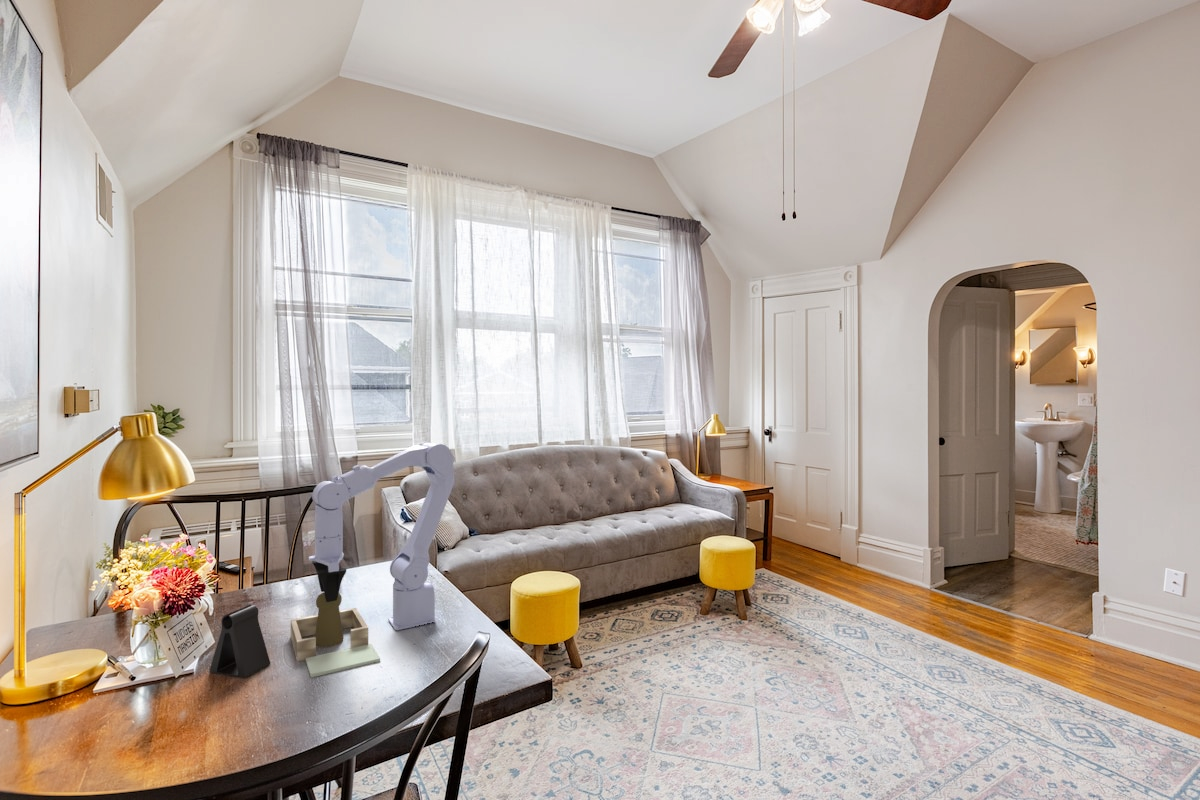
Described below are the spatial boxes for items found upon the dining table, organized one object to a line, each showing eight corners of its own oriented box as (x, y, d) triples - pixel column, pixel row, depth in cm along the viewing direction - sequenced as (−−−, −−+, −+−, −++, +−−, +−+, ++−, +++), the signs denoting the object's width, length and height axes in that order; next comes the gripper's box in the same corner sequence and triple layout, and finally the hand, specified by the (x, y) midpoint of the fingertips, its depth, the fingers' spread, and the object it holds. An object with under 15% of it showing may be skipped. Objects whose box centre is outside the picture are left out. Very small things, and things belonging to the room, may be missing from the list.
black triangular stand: (270, 665, 119) (270, 606, 119) (245, 678, 113) (245, 617, 113) (235, 659, 121) (235, 602, 121) (209, 673, 115) (209, 613, 115)
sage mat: (371, 646, 128) (371, 643, 128) (380, 661, 121) (380, 658, 121) (305, 660, 121) (305, 658, 121) (310, 677, 114) (310, 674, 114)
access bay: (356, 624, 140) (356, 607, 140) (368, 645, 128) (368, 627, 128) (290, 637, 132) (290, 620, 132) (297, 661, 120) (297, 642, 120)
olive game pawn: (332, 648, 127) (332, 598, 126) (307, 646, 128) (307, 596, 128) (349, 637, 132) (349, 589, 132) (325, 634, 134) (325, 587, 134)
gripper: (305, 531, 134) (305, 589, 134) (313, 544, 122) (313, 609, 122) (338, 527, 138) (338, 584, 138) (349, 540, 125) (349, 602, 126)
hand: (328, 595), depth 130 cm, fingers open, 7 cm apart
